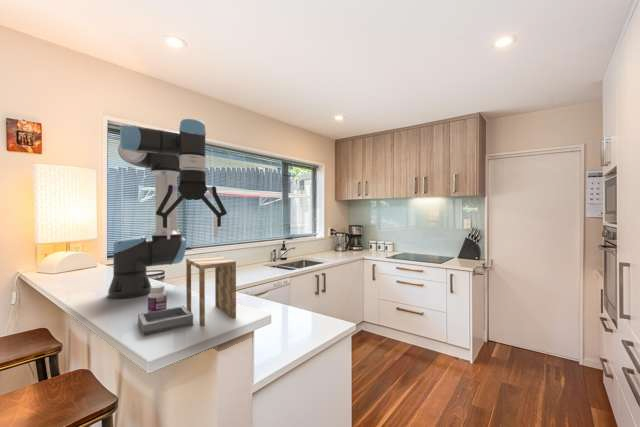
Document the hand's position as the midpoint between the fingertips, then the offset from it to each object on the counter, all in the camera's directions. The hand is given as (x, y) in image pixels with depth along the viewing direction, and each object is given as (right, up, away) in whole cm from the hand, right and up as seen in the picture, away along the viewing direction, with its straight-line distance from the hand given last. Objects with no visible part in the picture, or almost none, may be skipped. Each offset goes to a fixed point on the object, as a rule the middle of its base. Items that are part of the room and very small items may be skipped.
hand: (192, 238), depth 93 cm
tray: (-7, -26, -3) cm, 27 cm away
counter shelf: (+4, -26, +5) cm, 27 cm away
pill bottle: (-13, -26, +4) cm, 30 cm away
